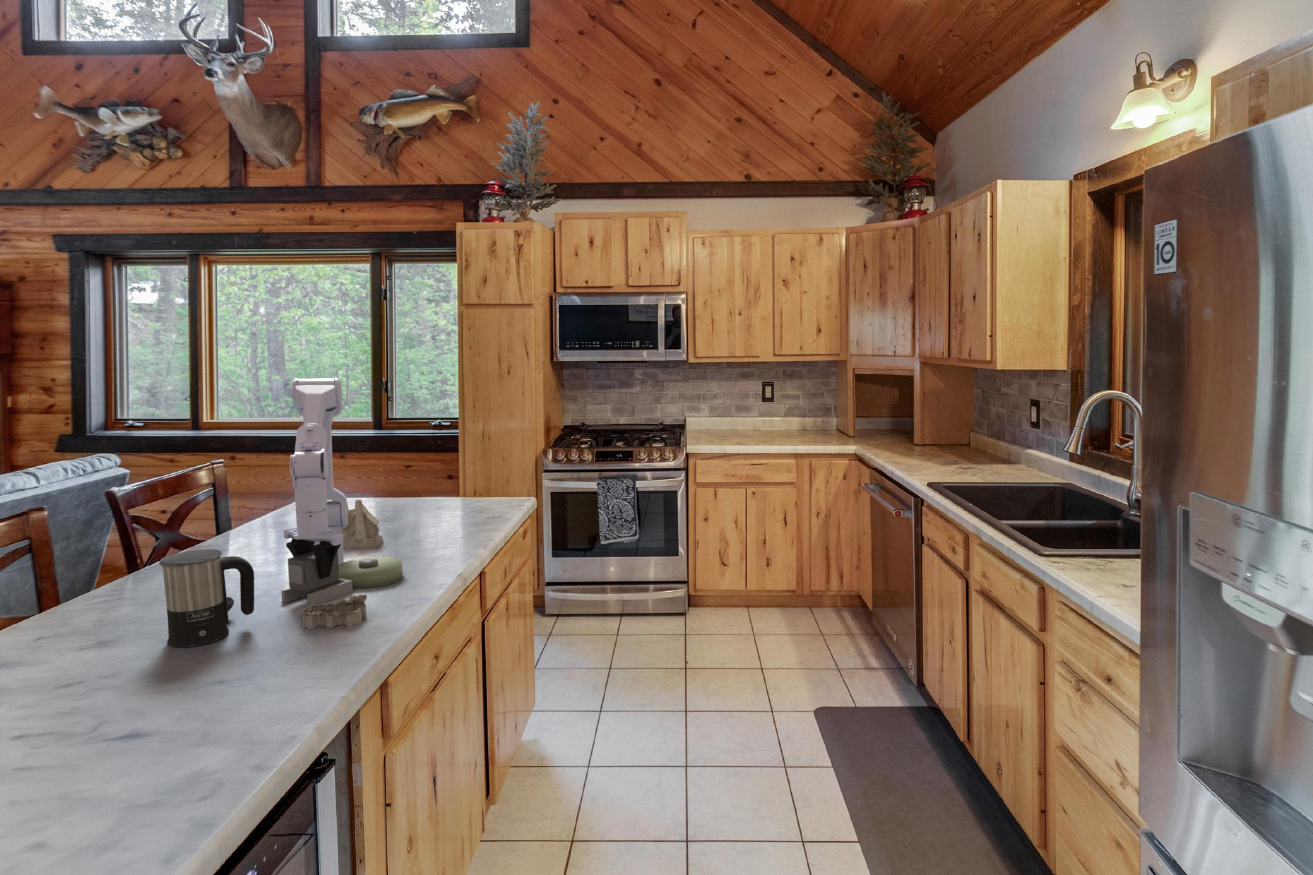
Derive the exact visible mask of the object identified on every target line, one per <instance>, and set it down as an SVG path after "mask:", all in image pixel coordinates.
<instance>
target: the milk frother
mask: <svg viewBox="0 0 1313 875" xmlns="http://www.w3.org/2000/svg"><path fill="white" fill-rule="evenodd" d="M222 554H223V551H222V550H219V549H203V548H202V549H195V550H194V549H192V550H187V551H182V552H177V553H173V554H170V555H167V556H164V557H162V558H161V559H160V561H158V564H159V565H160V566H161V567H162V573H163V574H162V575H163V582H164V594H165V604H166V615H167V629H168V631H167V632H168V639H167V640H166V641H167V642H166V643H167V645H168V646H170V647H175V648H189V647H197V646H202V645H207V644H210V643H213V642H217V641H218V640H221V639H223V638H224V637H226V636H227V635H228V634H229V632H230V629H229V628H228V624H229V621H230V620H229V611H230V610H231V609H232V608H233V606H234V604H235V600H234V599H233V598H232V597H229V596H227V588H226V580H225V579H226V576H225V571H226V570H234V569H235V570H237V571H238V572H239V580H240V581H239V582H240V583H239V585H240V586H239V588H240V590H239V591H240V611H241V613H242V614H243V615H246V616H249V615H252V614H253V613H254V611H255V571H254V567H253V566H252V564H251V563H250V562H249V561H248V560H246V559H245V558H243V557H241V556H236V555H235V556H233V555H231V556H223V557H221V556H222Z"/></svg>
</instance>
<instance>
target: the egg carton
mask: <svg viewBox="0 0 1313 875" xmlns="http://www.w3.org/2000/svg"><path fill="white" fill-rule="evenodd" d="M367 598H368V597H367V594H358V595H356V594H355V595H353V596H350V597H349V599H341V600H340V601H328V602H325V603H322V604H320V605H317V603H316V604H310V605H309V604H308V603H307V606H305V607H303V608H302V609H301V610H300V613H302V615H301V618H302V619H301V620H302V626H303V625H304V626H303V627H306V626H307V627H306V628H307V629H313V627H314V628H316V627H319V626H318V625H321V626H325V625H326V628H333V627H335V626H339V625H340V626H341V625H345V626H346V627H353V626H355V625H358V624H361V623H362V620H363V618H365V617H366V616H367V604H366V603H365V602H366V601H367Z"/></svg>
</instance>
